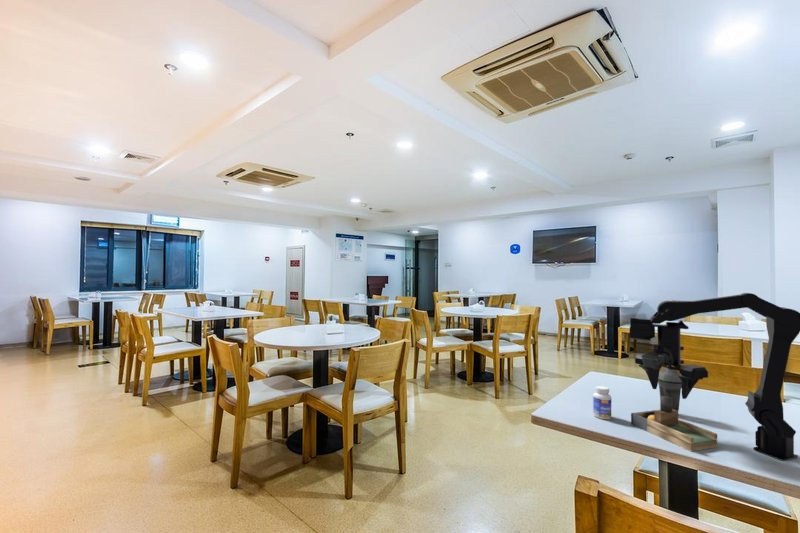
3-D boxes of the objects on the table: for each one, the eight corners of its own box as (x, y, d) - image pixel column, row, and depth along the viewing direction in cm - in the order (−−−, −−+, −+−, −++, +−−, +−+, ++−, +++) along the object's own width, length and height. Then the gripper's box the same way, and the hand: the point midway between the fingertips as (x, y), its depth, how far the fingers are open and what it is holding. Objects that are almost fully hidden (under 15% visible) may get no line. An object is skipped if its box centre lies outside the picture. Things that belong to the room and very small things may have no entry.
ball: (650, 417, 119) (657, 428, 117) (642, 418, 118) (649, 429, 116) (658, 412, 117) (665, 423, 114) (649, 413, 116) (657, 425, 113)
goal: (671, 427, 116) (671, 416, 116) (646, 431, 113) (646, 419, 113) (654, 420, 121) (655, 410, 121) (631, 424, 118) (631, 413, 118)
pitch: (717, 446, 103) (717, 433, 103) (690, 451, 101) (690, 438, 101) (671, 427, 116) (671, 416, 116) (646, 431, 113) (646, 419, 113)
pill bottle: (601, 420, 121) (602, 390, 121) (589, 414, 126) (589, 385, 126) (615, 418, 123) (615, 389, 123) (602, 412, 128) (602, 384, 128)
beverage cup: (687, 418, 123) (687, 358, 124) (663, 416, 125) (663, 357, 125) (676, 410, 130) (676, 354, 131) (653, 409, 132) (653, 352, 132)
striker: (679, 424, 112) (679, 398, 112) (662, 427, 110) (662, 400, 110) (670, 420, 115) (670, 395, 115) (652, 423, 113) (652, 396, 113)
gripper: (621, 338, 119) (621, 386, 119) (680, 349, 101) (680, 407, 101) (648, 336, 122) (648, 383, 122) (709, 347, 105) (709, 403, 104)
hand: (668, 393), depth 112 cm, fingers open, 9 cm apart
